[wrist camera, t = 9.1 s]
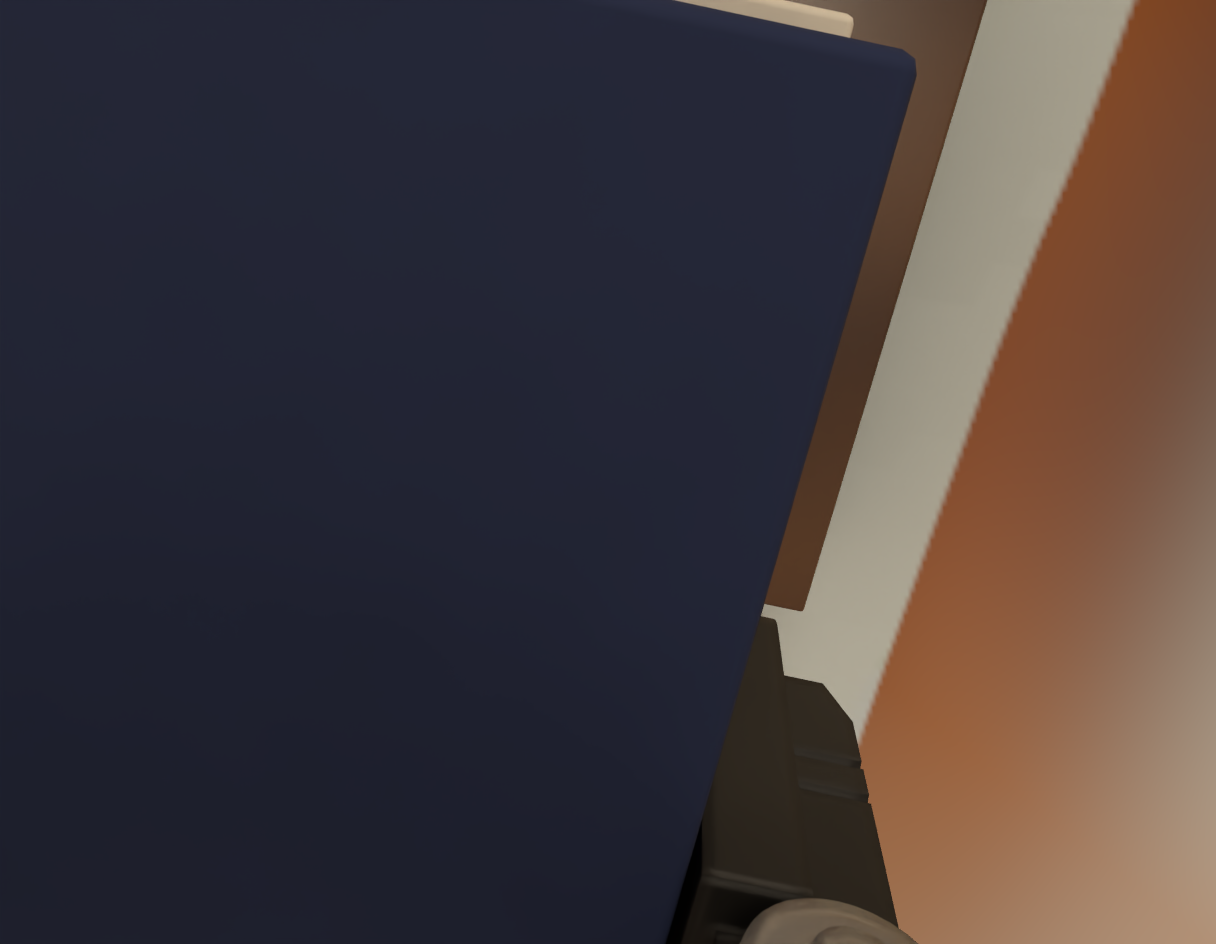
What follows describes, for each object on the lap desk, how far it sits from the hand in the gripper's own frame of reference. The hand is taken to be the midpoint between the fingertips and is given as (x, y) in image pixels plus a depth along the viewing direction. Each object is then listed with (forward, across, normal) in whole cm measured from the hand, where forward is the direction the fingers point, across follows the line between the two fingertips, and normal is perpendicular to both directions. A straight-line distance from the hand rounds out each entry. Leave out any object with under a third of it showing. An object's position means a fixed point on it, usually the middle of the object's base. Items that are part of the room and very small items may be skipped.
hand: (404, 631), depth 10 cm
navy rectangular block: (+1, 0, 0) cm, 1 cm away
